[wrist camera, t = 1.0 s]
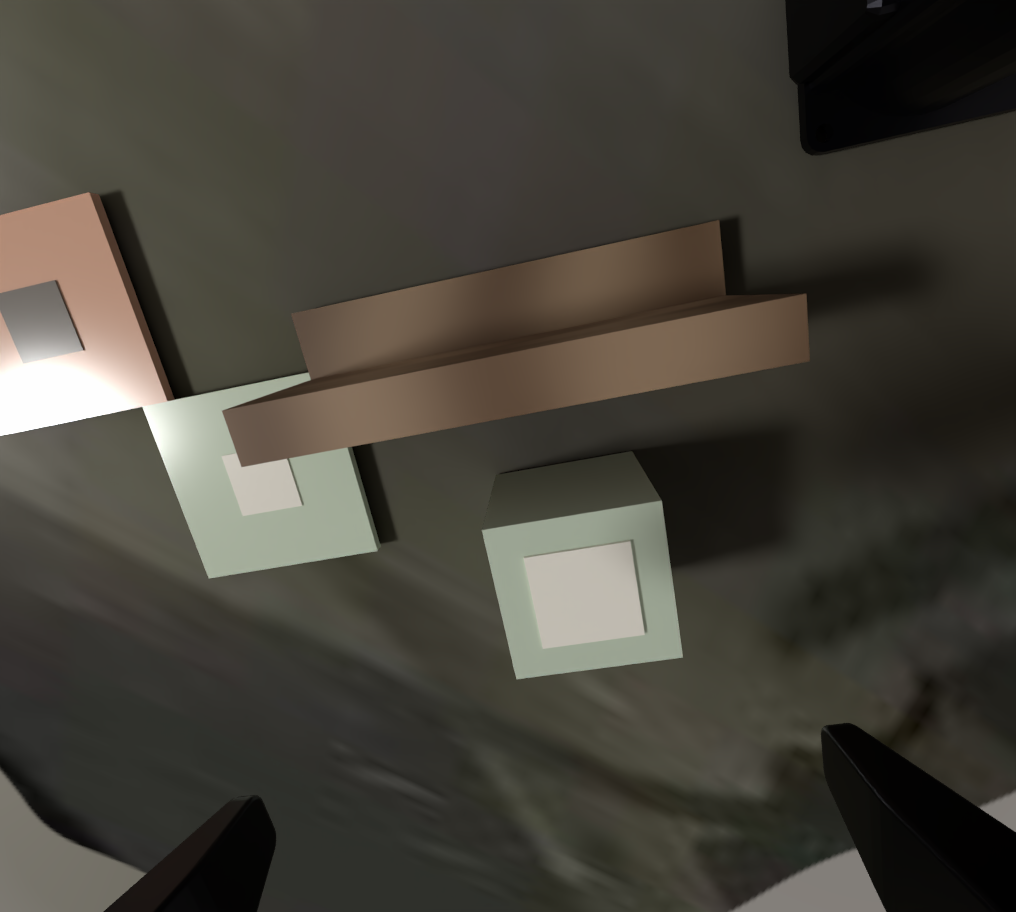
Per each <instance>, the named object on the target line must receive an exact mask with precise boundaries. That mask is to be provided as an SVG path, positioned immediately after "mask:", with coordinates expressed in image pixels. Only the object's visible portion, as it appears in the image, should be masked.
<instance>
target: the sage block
mask: <svg viewBox="0 0 1016 912" xmlns="http://www.w3.org/2000/svg"><path fill="white" fill-rule="evenodd" d="M482 533H483V537H484V541H485V546H486V550H487V554H488V559H489V563H490V567H491V572H492V576H493V580H494V584H495V589H496V593H497V597H498V602H499V606H500V610H501V615H502V619H503V623H504V628H505V632H506V636H507V640H508V645H509V649H510V653H511V658H512V662H513V666H514V671H515V675H516V679H522V678H530V677H537V676H545V675H553V674H560V673H568V672H575V671H583V670H591V669H598V668H606V667H613V666H621V665H629V664H636V663H644V662H651V661H659V660H667V659H674V658H682V657H683V655H682V647H681V640H680V632H679V625H678V617H677V610H676V603H675V595H674V588H673V580H672V573H671V565H670V558H669V551H668V543H667V536H666V528H665V521H664V514H663V506H662V500H661V499H660V497H659V495H658V494H657V492H656V490H655V489H654V487H653V485H652V484H651V482H650V480H649V479H648V477H647V475H646V474H645V472H644V470H643V469H642V467H641V465H640V464H639V462H638V460H637V459H636V457H635V455H634V454H633V452H632V451H630V452H624V453H618V454H612V455H607V456H601V457H595V458H590V459H584V460H578V461H572V462H567V463H561V464H555V465H550V466H544V467H538V468H533V469H527V470H521V471H515V472H510V473H504V474H498V475H496V478H495V481H494V485H493V489H492V493H491V497H490V501H489V505H488V508H487V512H486V516H485V520H484V524H483V528H482Z"/></svg>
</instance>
